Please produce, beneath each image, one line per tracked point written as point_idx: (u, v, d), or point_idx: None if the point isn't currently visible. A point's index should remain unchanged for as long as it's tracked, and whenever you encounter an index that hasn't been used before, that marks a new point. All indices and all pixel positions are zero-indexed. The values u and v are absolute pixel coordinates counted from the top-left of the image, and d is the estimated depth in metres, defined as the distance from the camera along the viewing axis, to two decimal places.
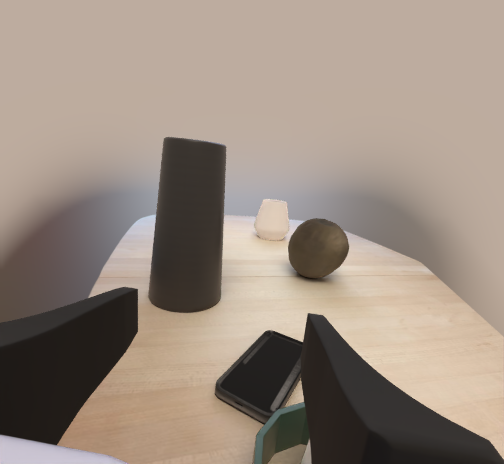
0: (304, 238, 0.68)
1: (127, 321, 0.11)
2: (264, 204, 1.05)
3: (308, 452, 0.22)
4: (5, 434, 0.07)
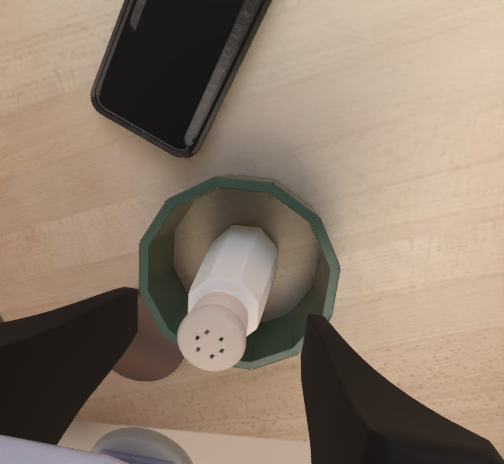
0: None
1: (127, 321, 0.11)
2: None
3: None
4: (5, 434, 0.07)
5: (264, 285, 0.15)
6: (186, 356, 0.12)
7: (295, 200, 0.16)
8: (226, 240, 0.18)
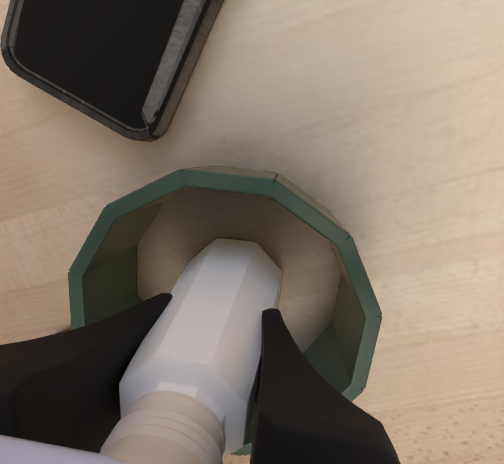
0: None
1: None
2: None
3: None
4: (76, 447, 0.06)
5: (259, 354, 0.09)
6: None
7: (311, 208, 0.10)
8: (202, 267, 0.12)
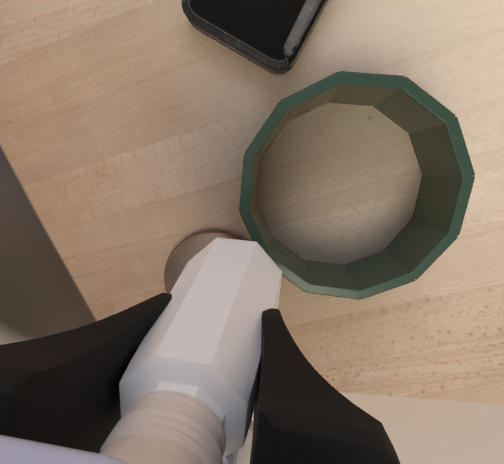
0: None
1: None
2: None
3: None
4: (76, 447, 0.06)
5: (259, 353, 0.09)
6: None
7: (429, 96, 0.15)
8: (203, 266, 0.12)
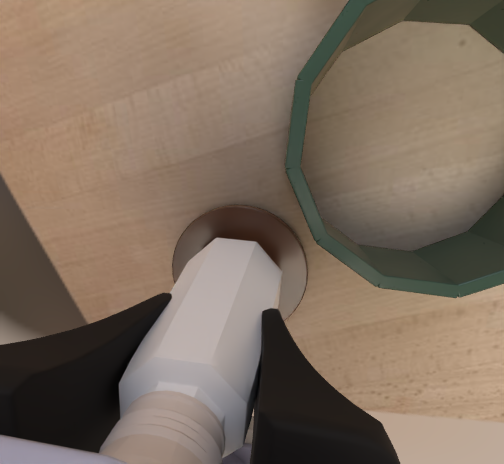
0: None
1: None
2: None
3: None
4: (76, 447, 0.06)
5: (258, 354, 0.09)
6: None
7: None
8: (202, 266, 0.12)
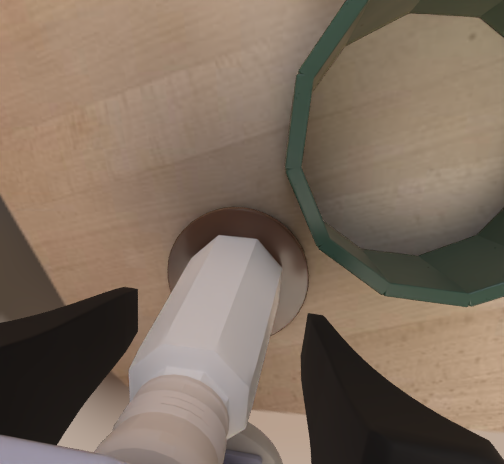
0: None
1: (127, 321, 0.11)
2: None
3: None
4: (5, 434, 0.07)
5: (260, 343, 0.09)
6: None
7: None
8: (206, 262, 0.12)
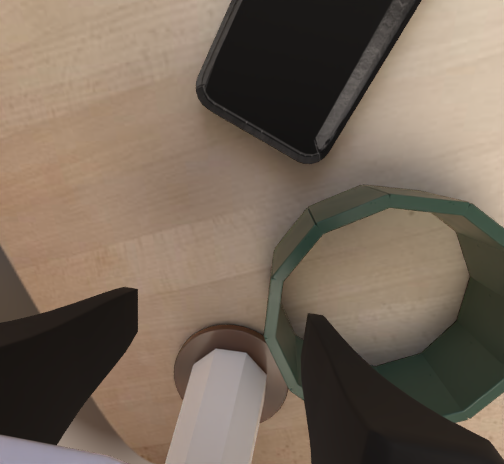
0: None
1: (127, 321, 0.11)
2: None
3: None
4: (5, 434, 0.07)
5: None
6: None
7: (498, 226, 0.12)
8: (205, 392, 0.16)
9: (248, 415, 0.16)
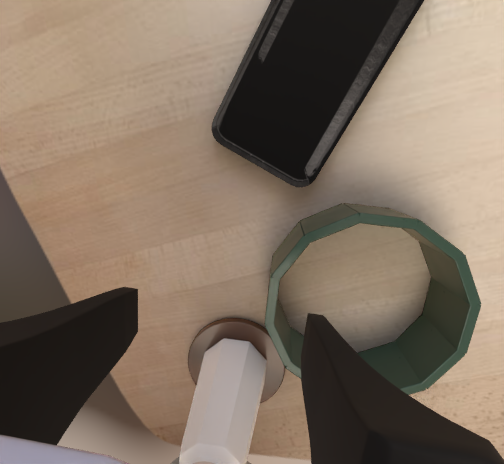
0: None
1: (127, 321, 0.11)
2: None
3: None
4: (5, 434, 0.07)
5: (249, 433, 0.17)
6: None
7: (440, 237, 0.16)
8: (216, 370, 0.20)
9: (252, 389, 0.20)
